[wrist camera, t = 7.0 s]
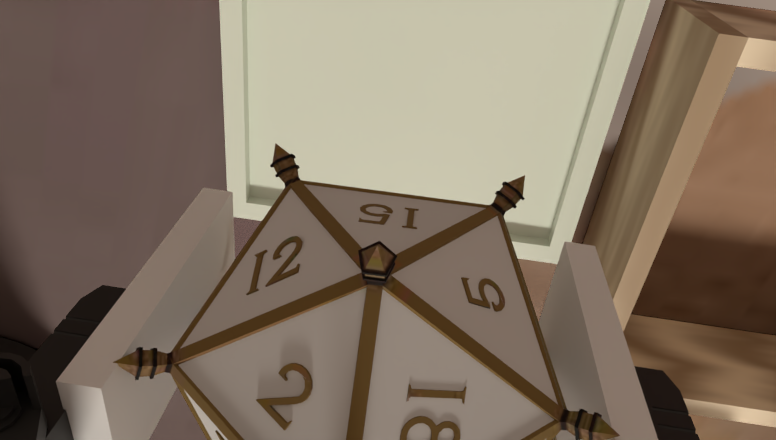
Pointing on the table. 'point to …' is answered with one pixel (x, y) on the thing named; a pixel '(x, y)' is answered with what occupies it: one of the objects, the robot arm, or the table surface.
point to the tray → (428, 100)
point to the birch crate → (661, 196)
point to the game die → (371, 326)
